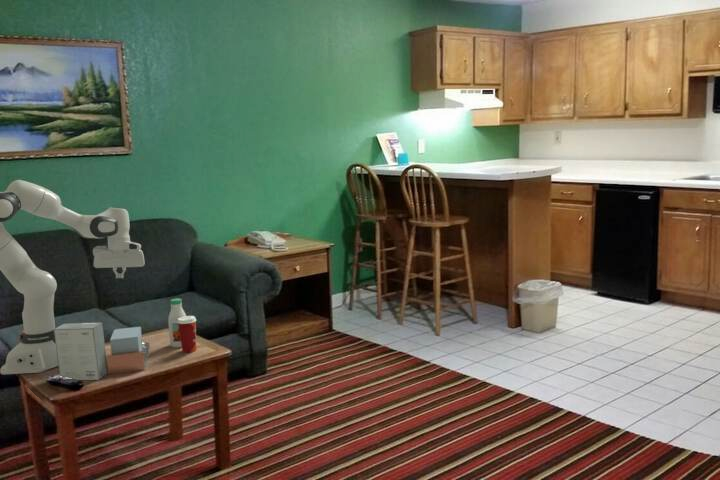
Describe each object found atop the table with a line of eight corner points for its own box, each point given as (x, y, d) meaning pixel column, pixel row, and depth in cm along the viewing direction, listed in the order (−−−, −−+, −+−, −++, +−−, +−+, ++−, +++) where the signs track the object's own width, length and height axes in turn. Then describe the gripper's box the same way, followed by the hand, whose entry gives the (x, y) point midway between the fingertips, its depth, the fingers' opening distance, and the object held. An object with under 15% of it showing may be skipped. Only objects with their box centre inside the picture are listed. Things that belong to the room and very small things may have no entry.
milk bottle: (167, 348, 274) (163, 301, 271) (175, 342, 282) (171, 297, 278) (184, 348, 273) (180, 301, 270) (192, 342, 280) (188, 297, 277)
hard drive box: (109, 373, 247) (103, 322, 244) (99, 380, 240) (93, 328, 237) (70, 373, 249) (64, 322, 246) (59, 380, 242) (52, 328, 238)
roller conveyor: (108, 374, 246) (106, 356, 245) (117, 350, 274) (115, 334, 272) (144, 369, 249) (142, 352, 248) (149, 346, 276) (148, 331, 275)
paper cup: (201, 351, 268) (198, 318, 266) (183, 355, 264) (180, 321, 262) (194, 346, 275) (192, 314, 272) (177, 350, 271) (174, 317, 268)
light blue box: (112, 362, 249) (110, 339, 247) (116, 350, 262) (114, 329, 261) (139, 359, 251) (137, 336, 250) (142, 348, 264) (140, 326, 263)
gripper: (91, 246, 270) (92, 279, 271) (143, 245, 275) (144, 278, 276) (93, 245, 276) (94, 277, 277) (144, 244, 281) (145, 276, 282)
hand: (119, 278), depth 276 cm, fingers closed
